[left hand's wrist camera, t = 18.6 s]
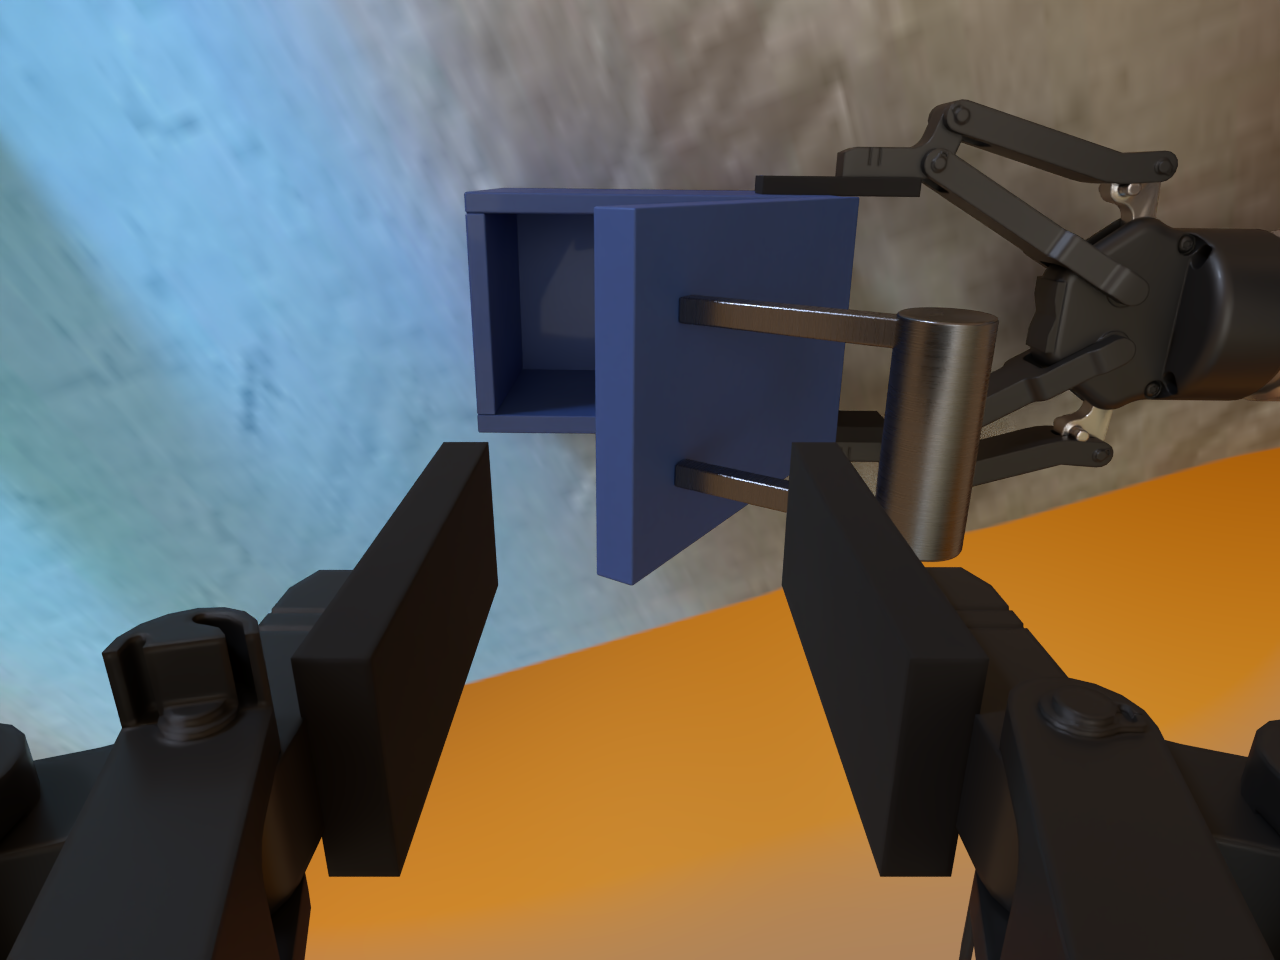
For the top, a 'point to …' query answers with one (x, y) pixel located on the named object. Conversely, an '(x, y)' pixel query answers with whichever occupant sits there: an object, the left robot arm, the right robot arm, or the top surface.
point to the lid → (762, 375)
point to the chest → (543, 300)
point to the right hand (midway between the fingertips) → (751, 311)
